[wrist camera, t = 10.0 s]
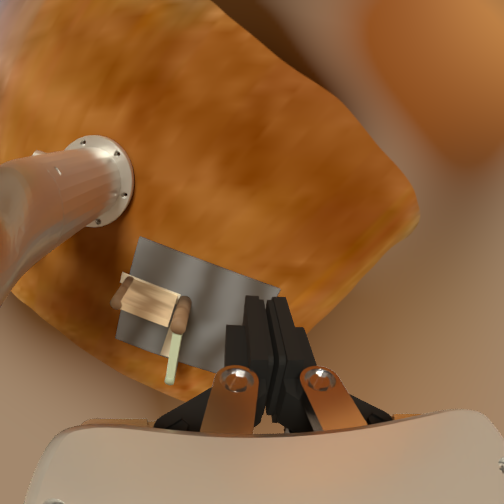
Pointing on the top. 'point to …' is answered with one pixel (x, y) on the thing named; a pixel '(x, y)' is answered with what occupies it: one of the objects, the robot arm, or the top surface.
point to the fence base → (182, 304)
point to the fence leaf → (173, 358)
